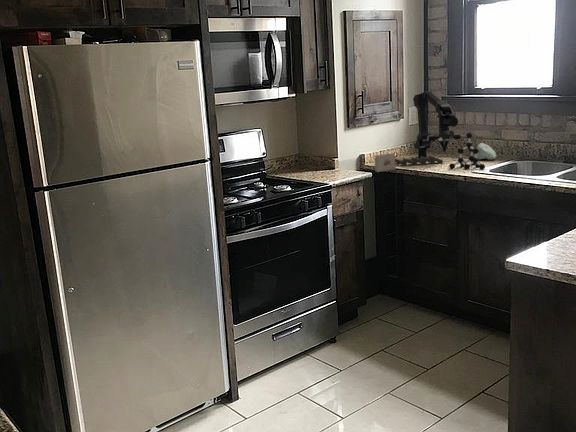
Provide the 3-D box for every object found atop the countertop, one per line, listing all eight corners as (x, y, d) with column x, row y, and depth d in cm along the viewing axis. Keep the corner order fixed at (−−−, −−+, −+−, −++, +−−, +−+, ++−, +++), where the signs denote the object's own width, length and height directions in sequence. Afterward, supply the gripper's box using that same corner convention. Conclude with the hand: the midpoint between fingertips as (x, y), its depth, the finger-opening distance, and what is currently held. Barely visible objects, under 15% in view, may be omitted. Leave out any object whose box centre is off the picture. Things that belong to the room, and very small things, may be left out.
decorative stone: (469, 158, 382) (472, 147, 374) (482, 150, 386) (485, 138, 378) (486, 170, 375) (488, 159, 367) (498, 162, 379) (501, 150, 371)
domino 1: (400, 167, 374) (387, 167, 375) (399, 165, 379) (386, 166, 379) (400, 164, 374) (386, 164, 374) (399, 162, 379) (386, 163, 379)
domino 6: (442, 163, 373) (429, 159, 372) (440, 162, 378) (427, 158, 377) (443, 160, 373) (430, 156, 372) (441, 159, 378) (428, 155, 377)
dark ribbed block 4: (416, 165, 373) (403, 161, 373) (414, 163, 378) (402, 160, 378) (417, 162, 373) (404, 158, 372) (415, 161, 378) (403, 157, 377)
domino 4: (425, 164, 373) (412, 160, 372) (423, 163, 378) (410, 159, 377) (426, 161, 373) (413, 158, 372) (424, 160, 378) (411, 156, 377)
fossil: (378, 172, 359) (377, 155, 357) (374, 171, 362) (374, 155, 360) (395, 169, 364) (395, 153, 362) (392, 168, 367) (391, 152, 365)
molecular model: (484, 170, 345) (484, 134, 340) (448, 169, 355) (448, 134, 350) (492, 165, 359) (492, 130, 355) (457, 164, 370) (457, 130, 365)
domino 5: (434, 164, 373) (421, 160, 373) (432, 162, 378) (419, 158, 377) (435, 161, 373) (422, 157, 372) (433, 159, 378) (420, 156, 377)
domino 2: (406, 165, 374) (393, 161, 374) (405, 164, 379) (392, 160, 379) (406, 162, 373) (393, 159, 373) (406, 161, 378) (393, 157, 378)
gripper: (430, 128, 363) (430, 154, 366) (463, 125, 362) (463, 152, 366) (426, 126, 373) (427, 152, 377) (458, 124, 373) (458, 150, 377)
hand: (443, 151), depth 374 cm, fingers closed
